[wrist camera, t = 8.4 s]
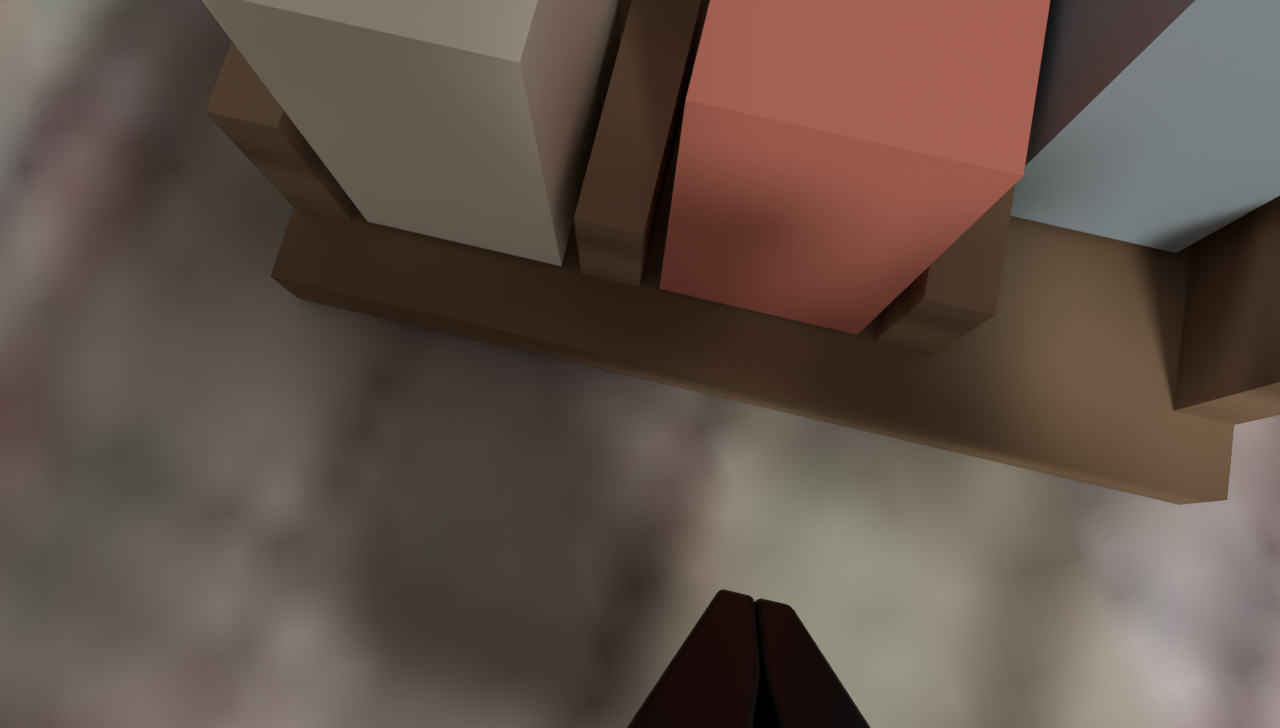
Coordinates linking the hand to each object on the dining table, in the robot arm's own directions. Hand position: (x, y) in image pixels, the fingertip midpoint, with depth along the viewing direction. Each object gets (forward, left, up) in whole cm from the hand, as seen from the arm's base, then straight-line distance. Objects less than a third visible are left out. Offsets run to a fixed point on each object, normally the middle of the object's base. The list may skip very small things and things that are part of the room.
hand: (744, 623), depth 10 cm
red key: (+6, +5, -7) cm, 10 cm away
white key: (+2, +10, -7) cm, 12 cm away
